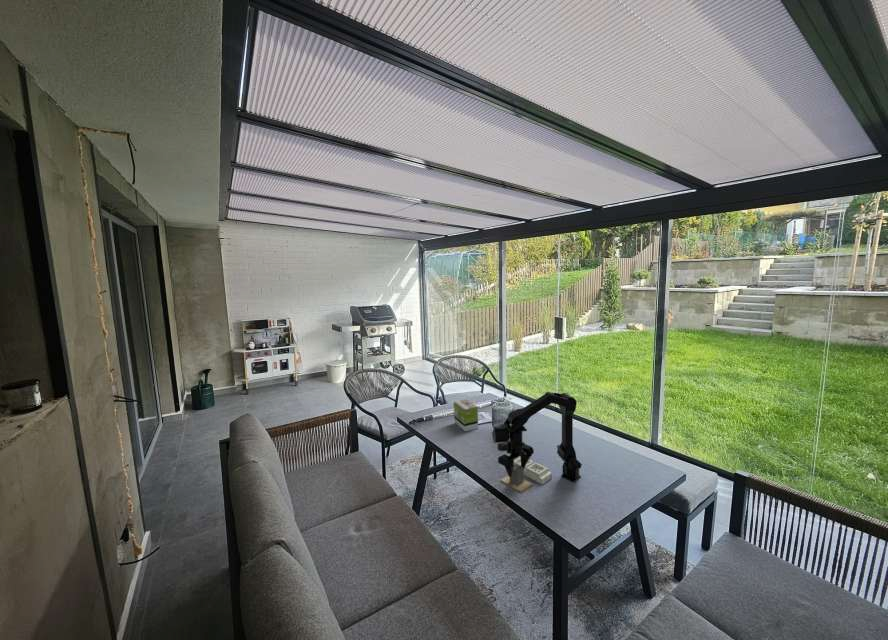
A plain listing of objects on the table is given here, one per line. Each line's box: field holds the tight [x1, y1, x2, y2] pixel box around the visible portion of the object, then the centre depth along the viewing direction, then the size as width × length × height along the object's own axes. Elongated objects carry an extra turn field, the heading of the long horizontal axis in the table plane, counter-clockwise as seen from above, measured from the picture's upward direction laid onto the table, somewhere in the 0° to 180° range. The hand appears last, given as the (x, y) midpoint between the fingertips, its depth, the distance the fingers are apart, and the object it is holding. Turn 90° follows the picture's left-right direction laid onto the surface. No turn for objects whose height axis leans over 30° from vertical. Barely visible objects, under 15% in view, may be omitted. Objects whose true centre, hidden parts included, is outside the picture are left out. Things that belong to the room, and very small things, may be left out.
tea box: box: [453, 399, 479, 432], centre depth 218 cm, size 15×10×15 cm
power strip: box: [513, 456, 553, 485], centre depth 164 cm, size 19×8×4 cm, turn 39°
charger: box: [510, 464, 524, 486], centre depth 156 cm, size 4×4×7 cm
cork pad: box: [500, 475, 534, 494], centre depth 156 cm, size 12×8×1 cm, turn 39°
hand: (516, 472), depth 155 cm, fingers open, 9 cm apart
